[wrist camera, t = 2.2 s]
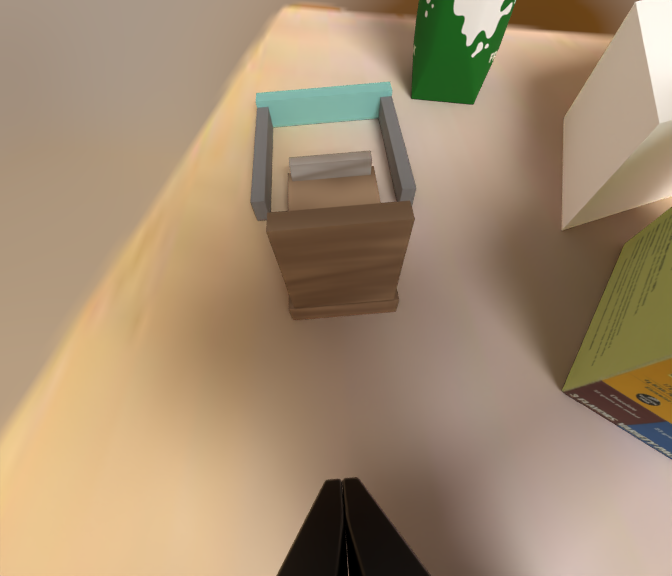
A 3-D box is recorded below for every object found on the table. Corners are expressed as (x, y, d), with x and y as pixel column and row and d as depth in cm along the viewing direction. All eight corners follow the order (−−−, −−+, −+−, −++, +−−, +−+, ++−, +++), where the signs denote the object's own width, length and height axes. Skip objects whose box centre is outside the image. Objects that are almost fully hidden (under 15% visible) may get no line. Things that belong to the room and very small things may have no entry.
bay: (411, 207, 30) (417, 182, 27) (257, 220, 30) (248, 197, 27) (387, 108, 37) (389, 81, 34) (263, 119, 37) (256, 93, 34)
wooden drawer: (395, 312, 25) (423, 219, 15) (293, 321, 25) (258, 234, 15) (372, 183, 32) (381, 62, 22) (291, 190, 32) (266, 72, 22)
